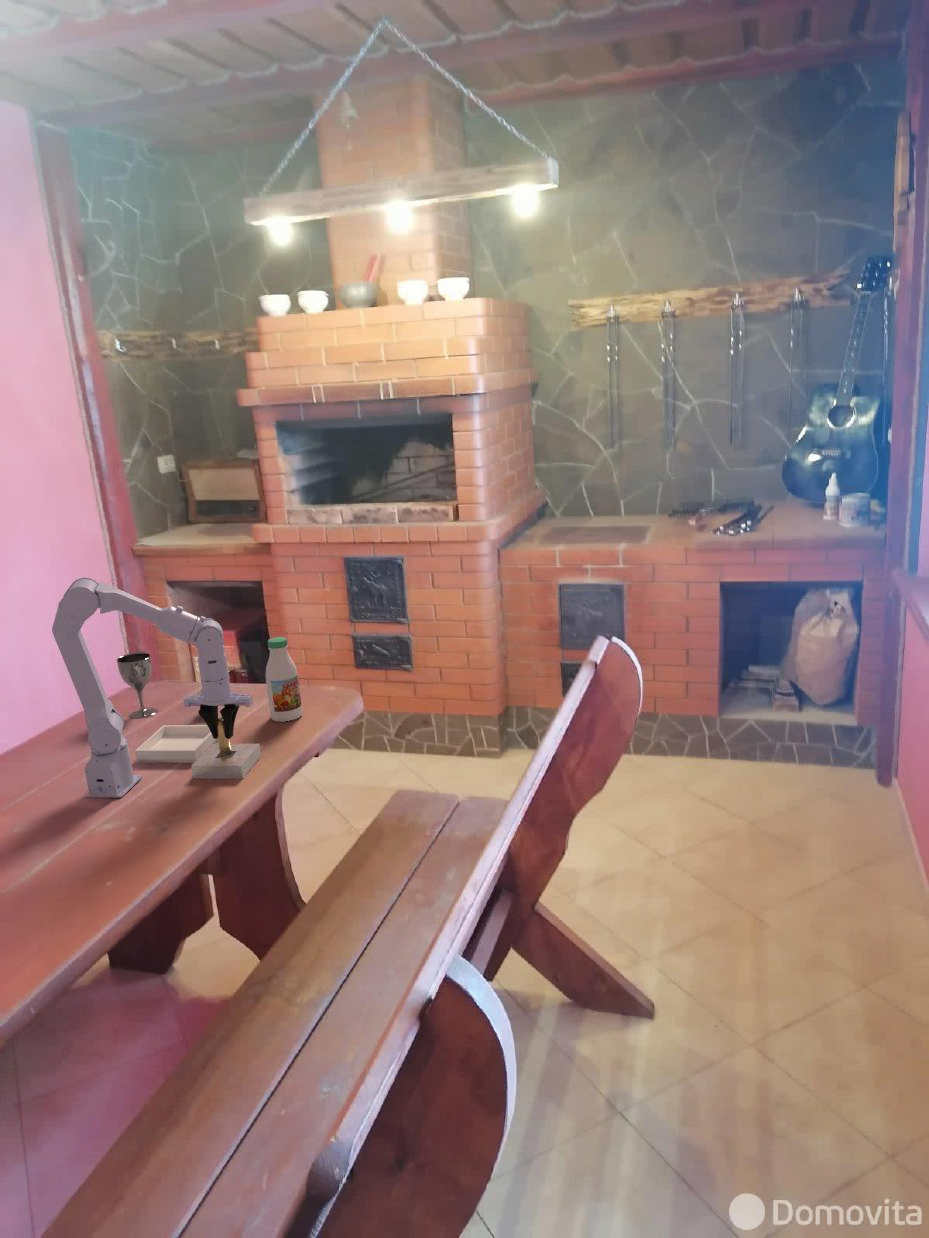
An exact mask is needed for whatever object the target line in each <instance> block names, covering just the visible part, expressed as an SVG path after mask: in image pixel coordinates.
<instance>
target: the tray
mask: <svg viewBox="0 0 929 1238" xmlns="http://www.w3.org/2000/svg"><path fill="white" fill-rule="evenodd" d="M217 742H218V738H217V739H213V736H212V734H211V731H210V729H209V727H208V726H207V724H191V725H190V724H179V725H178V724H177V725H176V724H175V725H172V724H171V725H168V724H167V725H164V724H163V725H162V726H161V727H160V728H159V729H157V730H156V731H155V732H154V733H153V734H152V735H151V736H149V738H148V739H147V738H146V740H145V741H144V742H143V743H142V744H141V745H139V746H138V747H137V748H136V749H135V750H134V754H135V759H136V763H137V764H193V763H194V762H195V761H196V760H197V759H198V758H199V757H200V756H201V755H202V754H203V753H204V752H205V751H206V750H207V749H208V748H209V747H210V745H211V744H217Z"/></svg>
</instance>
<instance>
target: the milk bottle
mask: <svg viewBox="0 0 929 1238" xmlns="http://www.w3.org/2000/svg"><path fill="white" fill-rule="evenodd" d="M267 647H268V648H267V649H268V650H269V657H268V660H267V663H266V666H265V667H266V668H265V684H266V691H267V698H268V699H267V701H268V709H269V714H270V718H271V720H272V721H273V722H278V723H286V721H288V722H291V721H290V720H292V721H295V720H297V718H298V719H300V718H301V717H302V715H303V706H302V697H301V690H300V683H299V680H300V679H299V675H298V670H297V669H298V668H297V666H296V664H295V662H294V660H293V659H292V657H291V655H290V653H289V650H288V647H289V645H288V639H287V637H285V636H276V637H272V638H269V639H268V640H267ZM300 716H301V717H300ZM294 719H295V720H294Z"/></svg>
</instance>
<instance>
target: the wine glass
mask: <svg viewBox="0 0 929 1238" xmlns="http://www.w3.org/2000/svg"><path fill="white" fill-rule="evenodd" d="M116 663H117V668H118V672H119V675H120V676H121V679H122V680H123V682H124V683H125V684H127V686H129V687H130V688H131V689H132V690H134V691H135V693H136V695H137V697H138V701H139V705H140V708H139V709H135V710H133V711H131V712H129V713H128V718H130V719H135V720H136V719H144V718H149V717H151V716H154V715H155V714H157V713H158V711H159V710H158V708H156V707H144V700H143V699H144V698H143V692H144V688H145V687H146V684H148V682H149V680H150V678H151V676H152V671H153V669H152V658H151V654H150V653H149V652H146V651H145V652H143V651H142V652H132V653H127V654H123V655H121V656H119V657H117V659H116Z"/></svg>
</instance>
